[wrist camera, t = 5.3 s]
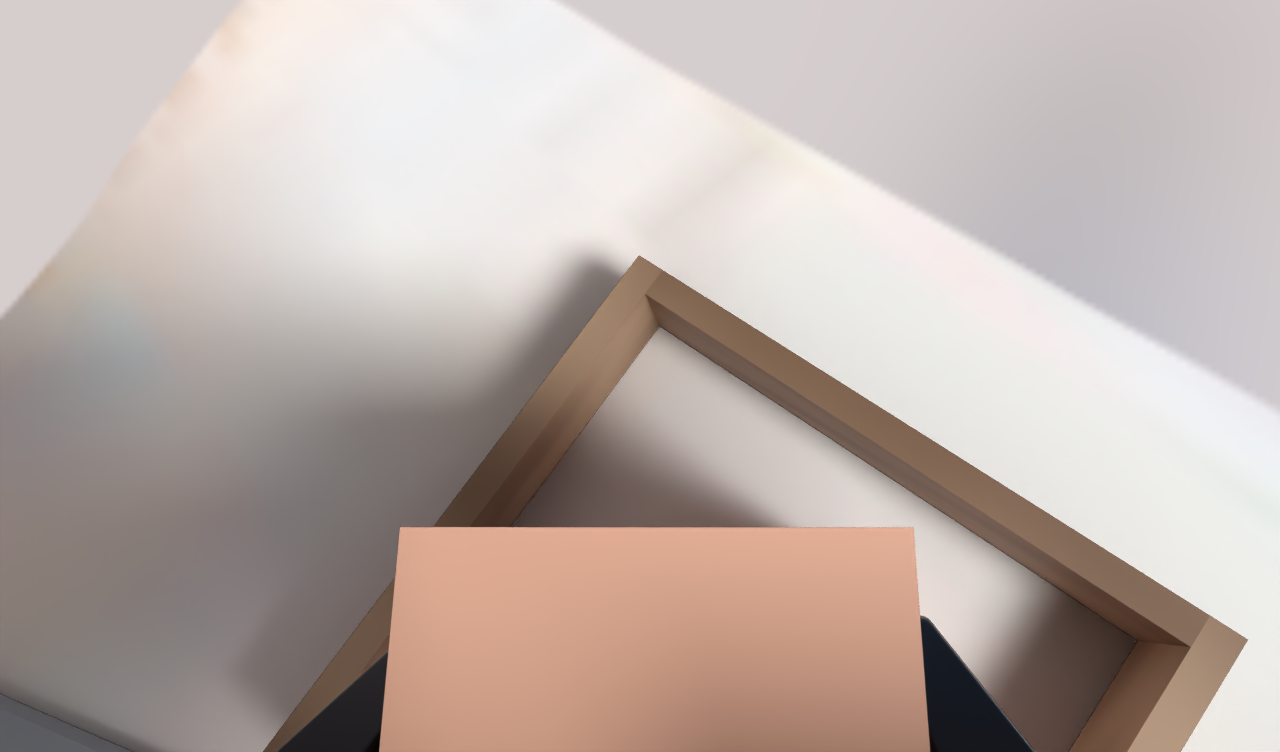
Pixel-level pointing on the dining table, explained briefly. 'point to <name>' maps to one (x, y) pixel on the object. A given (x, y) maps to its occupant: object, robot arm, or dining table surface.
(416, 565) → the terracotta block
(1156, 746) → the walnut well
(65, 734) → the slate pad
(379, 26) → the dining table surface
